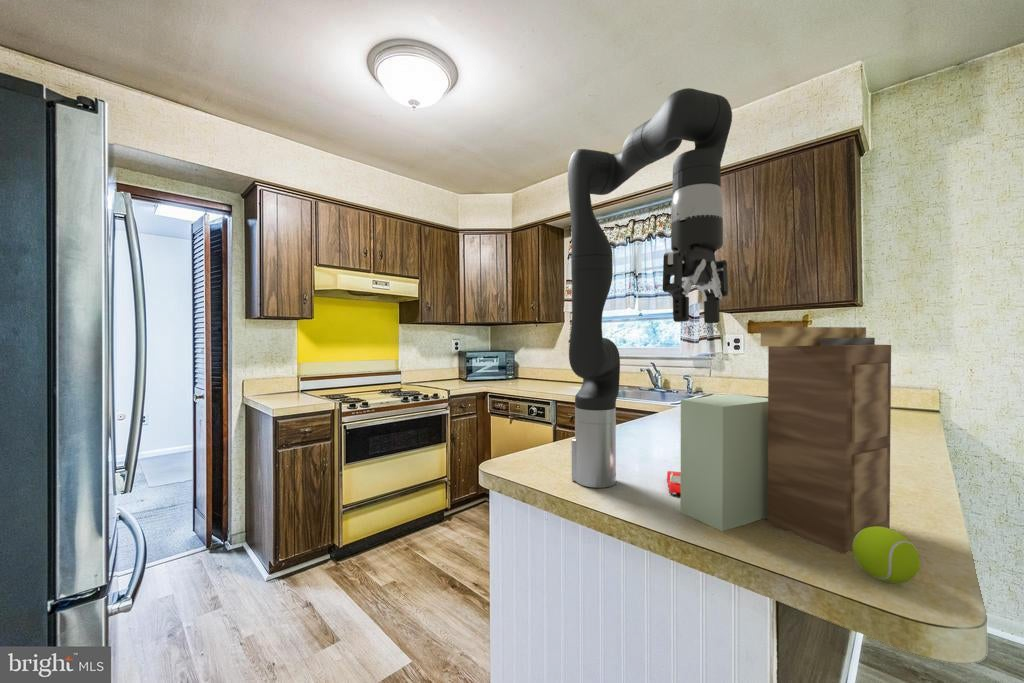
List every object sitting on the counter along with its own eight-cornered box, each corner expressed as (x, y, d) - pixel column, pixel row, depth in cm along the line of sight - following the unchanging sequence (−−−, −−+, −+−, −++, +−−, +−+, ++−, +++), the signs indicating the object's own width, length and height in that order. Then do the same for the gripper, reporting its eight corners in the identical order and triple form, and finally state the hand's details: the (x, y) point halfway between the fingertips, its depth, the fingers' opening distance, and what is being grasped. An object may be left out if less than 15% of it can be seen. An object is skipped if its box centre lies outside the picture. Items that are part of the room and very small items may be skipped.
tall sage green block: (722, 531, 74) (722, 406, 73) (680, 512, 82) (680, 399, 81) (779, 513, 81) (780, 399, 80) (736, 497, 89) (736, 394, 88)
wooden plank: (782, 346, 65) (783, 326, 65) (757, 345, 69) (757, 327, 69) (865, 344, 76) (866, 327, 76) (840, 343, 79) (840, 327, 79)
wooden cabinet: (846, 554, 66) (848, 338, 65) (767, 523, 77) (768, 337, 76) (892, 535, 72) (894, 337, 71) (813, 508, 83) (814, 337, 82)
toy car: (695, 501, 88) (695, 485, 88) (668, 498, 90) (668, 483, 90) (690, 482, 99) (690, 468, 99) (666, 479, 101) (666, 466, 101)
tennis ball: (933, 590, 56) (934, 538, 56) (892, 597, 55) (892, 543, 55) (878, 563, 63) (878, 516, 63) (839, 568, 62) (840, 520, 62)
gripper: (699, 232, 75) (700, 324, 75) (648, 218, 67) (648, 322, 66) (743, 222, 69) (743, 322, 69) (692, 205, 60) (693, 319, 60)
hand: (696, 322), depth 68 cm, fingers open, 8 cm apart
